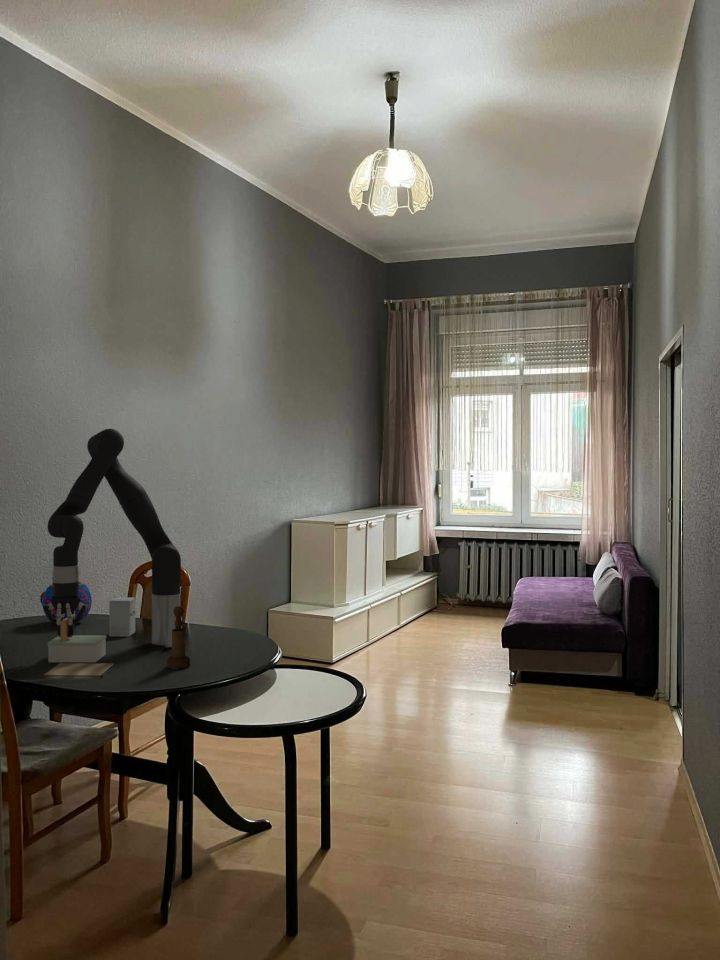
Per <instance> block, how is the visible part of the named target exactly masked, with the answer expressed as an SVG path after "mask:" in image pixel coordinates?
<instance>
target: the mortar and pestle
mask: <svg viewBox="0 0 720 960" xmlns="http://www.w3.org/2000/svg"><path fill="white" fill-rule="evenodd" d="M184 612H185V611H184V608H183V607H182V606H181V605H180V606H178V607H175V608H174V610H173V613H174V615H175V617H176V621H175V627H176V629H173V630H172V647H171V655H170V656H169V658H167V659H166V662H167V663H166V667H168V668H167V669H169V668H171V670H180V669H179V668H185V669H187V668H186V667H188V668H190V667H191V658H190V657H188V655H186V629H185V628H184V627H183V620H182V621H181V617H182V618H183V615H184ZM181 626H182V628H181ZM189 666H190V667H189Z"/></svg>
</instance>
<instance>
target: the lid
mask: <svg viewBox="0 0 720 960" xmlns="http://www.w3.org/2000/svg"><path fill="white" fill-rule="evenodd" d="M68 625H69V622H68V618H65V619H64V620H62V621H61V637H59V635H57V636H56V637H55V638H53V639H52V640H50V641H48V642H47V647H48V646H96V645H98V644H99V643H100V642H102V641H103V640H104V639H107V635H98V634H97V635H95V634H94V635H93V634H91V635H84V634H83V635H80V634H79V635H77V634H76V635H75V634H74V635H73V636H72V637H68Z"/></svg>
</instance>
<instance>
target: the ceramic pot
mask: <svg viewBox="0 0 720 960" xmlns="http://www.w3.org/2000/svg"><path fill="white" fill-rule="evenodd" d="M39 596H40V597H39V601H40V603H41V606H42V607H43V606H45V605H47V604H49V603H51V601H52V599H53V583H52V584H50V585H49V586H48V587H46V589H45V591H43V592H42V593H41V595H39ZM79 599H80V602H81V603H83V604H88V608H87V610H86V612H85V614H84V616H83V618H82V619H81V621H83V620H84V619H86V618H87V616H88V615H89V613H90V611H91V609H92V603H93V602H92V595H91V592H90V588H89V587H88V586H87V585H86V584H85V583H84V582H81V581H79ZM42 610H43V613H44V615H45V616H46V618H47V620H49V618H48V616H47V614H46V612H45V610H44V609H43V608H42ZM52 610H53V612H54V614H55V616H56V617H57V611H56V609H55V608H54V607H53V609H52ZM79 611H80V610H79V606H78V607H77V608H76V610H75V619H76V617H77V615H78V613H79ZM65 618H68V617H67V614H66V613H65V615H64V619H65Z"/></svg>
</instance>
